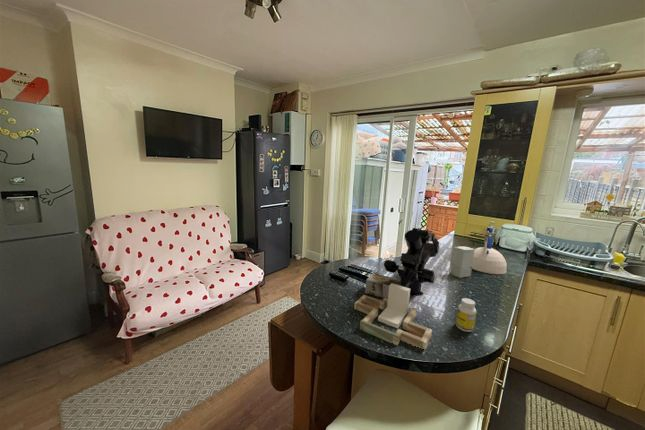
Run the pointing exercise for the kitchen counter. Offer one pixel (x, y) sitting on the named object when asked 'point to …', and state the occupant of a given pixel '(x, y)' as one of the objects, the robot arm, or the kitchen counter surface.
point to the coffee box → (380, 285)
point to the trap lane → (413, 336)
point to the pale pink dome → (488, 259)
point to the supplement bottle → (466, 315)
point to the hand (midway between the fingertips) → (402, 290)
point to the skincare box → (462, 261)
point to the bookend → (396, 306)
